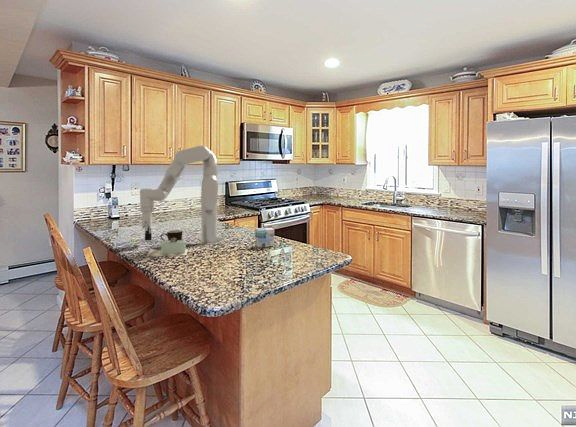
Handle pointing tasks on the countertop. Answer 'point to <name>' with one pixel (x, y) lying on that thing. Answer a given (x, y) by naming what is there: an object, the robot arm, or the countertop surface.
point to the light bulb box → (264, 237)
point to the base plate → (158, 253)
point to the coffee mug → (173, 235)
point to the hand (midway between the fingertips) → (148, 239)
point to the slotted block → (173, 247)
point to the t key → (148, 240)
